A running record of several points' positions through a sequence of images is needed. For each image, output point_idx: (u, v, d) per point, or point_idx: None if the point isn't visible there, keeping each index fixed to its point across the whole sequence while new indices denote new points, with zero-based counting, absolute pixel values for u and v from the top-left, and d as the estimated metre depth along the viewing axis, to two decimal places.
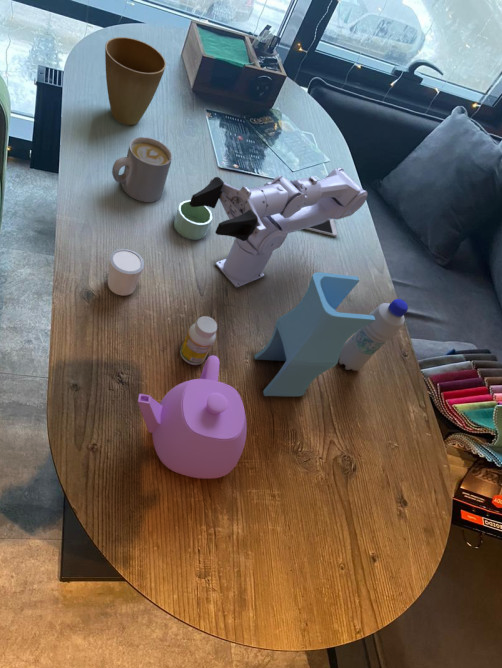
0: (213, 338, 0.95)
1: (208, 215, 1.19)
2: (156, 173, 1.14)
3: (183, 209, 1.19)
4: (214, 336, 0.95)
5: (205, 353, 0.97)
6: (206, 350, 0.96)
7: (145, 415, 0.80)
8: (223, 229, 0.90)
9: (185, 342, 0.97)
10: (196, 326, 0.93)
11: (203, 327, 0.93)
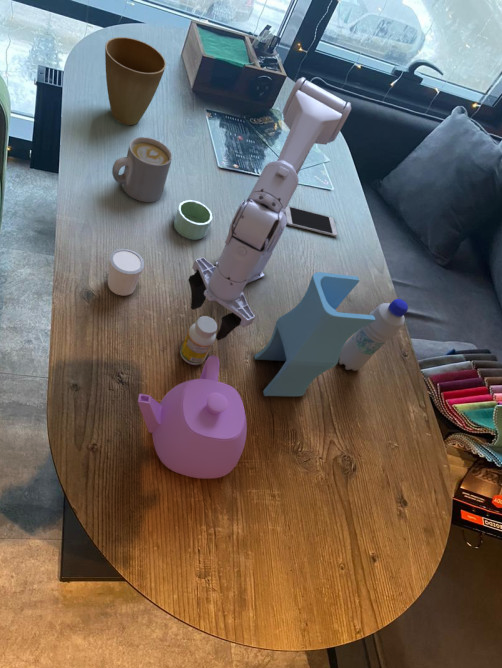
0: (213, 338, 0.95)
1: (208, 215, 1.19)
2: (156, 173, 1.14)
3: (183, 209, 1.19)
4: (214, 336, 0.95)
5: (205, 353, 0.97)
6: (206, 350, 0.96)
7: (145, 415, 0.80)
8: (224, 335, 0.91)
9: (185, 342, 0.97)
10: (196, 326, 0.93)
11: (203, 327, 0.93)
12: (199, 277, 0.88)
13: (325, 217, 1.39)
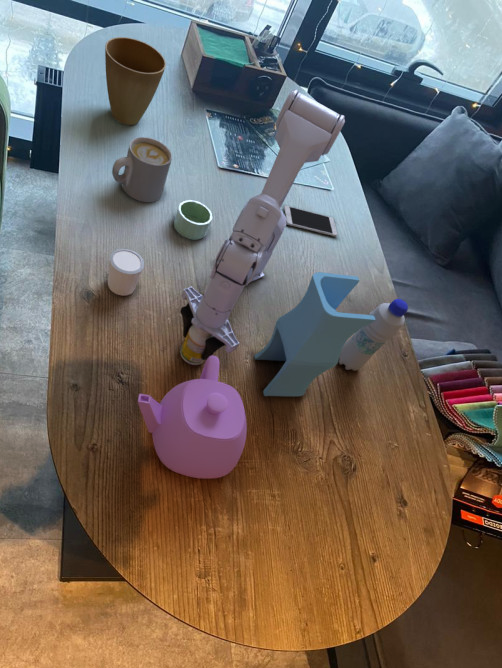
0: None
1: (208, 215, 1.19)
2: (156, 173, 1.14)
3: (183, 209, 1.19)
4: None
5: None
6: None
7: (145, 415, 0.80)
8: (208, 355, 0.97)
9: (185, 342, 0.97)
10: None
11: None
12: (190, 308, 0.93)
13: (325, 217, 1.39)
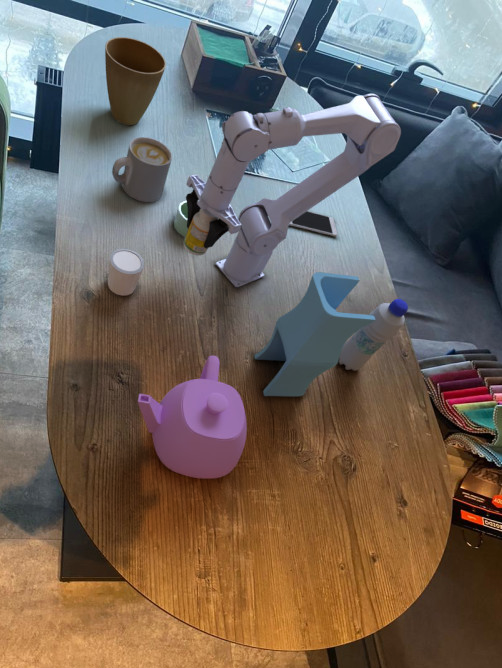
0: None
1: None
2: (156, 173, 1.14)
3: (183, 209, 1.19)
4: None
5: None
6: None
7: (145, 415, 0.80)
8: (211, 244, 1.03)
9: (189, 230, 1.03)
10: (200, 211, 0.99)
11: (207, 212, 0.99)
12: (195, 195, 1.00)
13: (325, 217, 1.39)
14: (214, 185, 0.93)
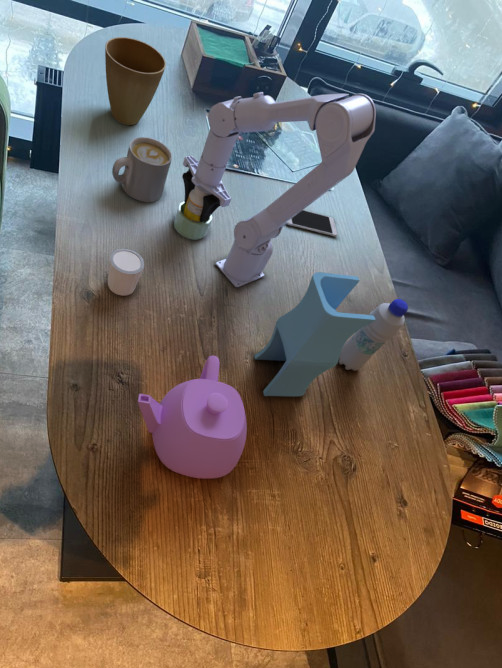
0: None
1: None
2: (156, 173, 1.14)
3: (183, 209, 1.19)
4: None
5: None
6: None
7: (145, 415, 0.80)
8: (206, 217, 1.15)
9: (186, 206, 1.15)
10: (195, 188, 1.11)
11: (201, 189, 1.11)
12: (191, 174, 1.12)
13: (325, 217, 1.39)
14: (205, 163, 1.04)
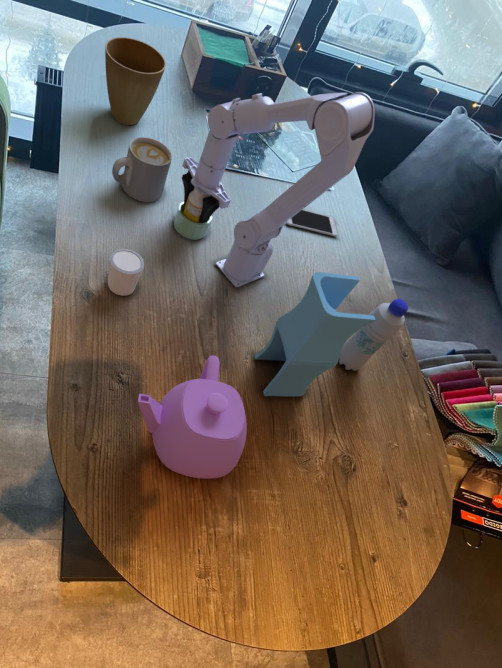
0: None
1: None
2: (156, 173, 1.14)
3: (183, 209, 1.19)
4: None
5: None
6: None
7: (145, 415, 0.80)
8: (205, 219, 1.16)
9: (185, 207, 1.15)
10: (195, 190, 1.12)
11: (201, 190, 1.11)
12: (190, 175, 1.12)
13: (325, 217, 1.39)
14: (205, 165, 1.05)
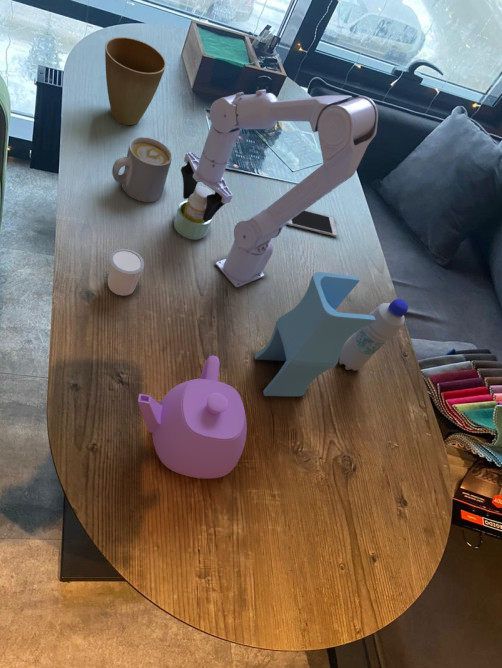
0: None
1: None
2: (156, 173, 1.14)
3: (183, 209, 1.19)
4: None
5: (201, 220, 1.16)
6: (202, 216, 1.15)
7: (145, 415, 0.80)
8: (209, 217, 1.14)
9: (185, 210, 1.16)
10: (194, 192, 1.12)
11: (200, 193, 1.12)
12: (189, 167, 1.11)
13: (325, 217, 1.39)
14: (207, 159, 1.04)
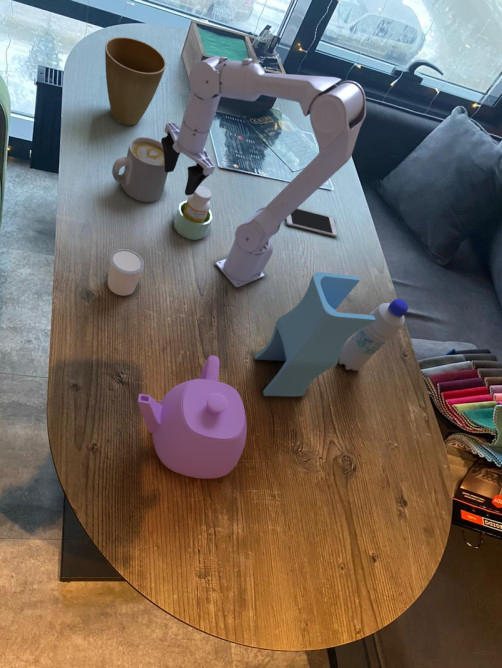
0: (208, 205, 1.14)
1: (208, 215, 1.19)
2: (156, 173, 1.14)
3: (183, 209, 1.19)
4: (209, 204, 1.15)
5: (201, 220, 1.16)
6: (202, 216, 1.15)
7: (145, 415, 0.80)
8: (191, 191, 1.09)
9: (184, 210, 1.16)
10: (194, 193, 1.12)
11: (199, 193, 1.12)
12: (170, 138, 1.06)
13: (325, 217, 1.39)
14: (187, 128, 0.99)
